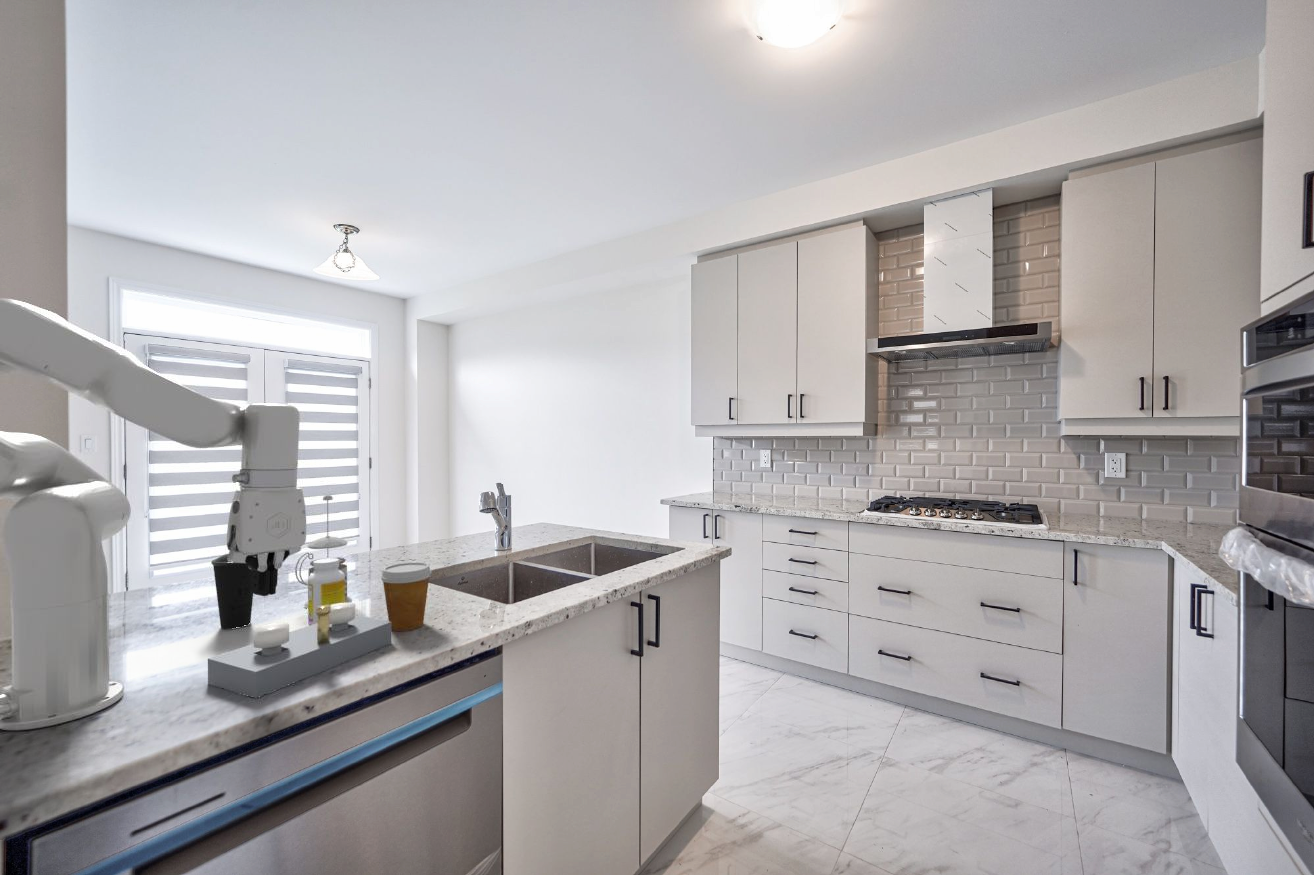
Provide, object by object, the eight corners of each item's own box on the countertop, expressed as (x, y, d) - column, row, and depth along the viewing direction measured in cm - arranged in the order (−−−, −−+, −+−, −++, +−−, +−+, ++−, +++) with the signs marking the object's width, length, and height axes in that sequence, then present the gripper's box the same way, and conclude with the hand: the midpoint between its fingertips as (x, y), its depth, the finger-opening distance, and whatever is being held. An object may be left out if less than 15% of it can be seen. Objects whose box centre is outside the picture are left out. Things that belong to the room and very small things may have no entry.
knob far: (336, 650, 99) (336, 612, 99) (318, 646, 101) (318, 608, 101) (360, 641, 103) (360, 604, 103) (342, 637, 105) (342, 601, 105)
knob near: (265, 678, 88) (265, 634, 88) (246, 672, 90) (246, 630, 90) (296, 666, 92) (295, 625, 92) (277, 661, 94) (277, 621, 94)
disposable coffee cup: (426, 615, 121) (425, 559, 121) (436, 628, 113) (436, 568, 113) (377, 623, 116) (376, 565, 116) (384, 637, 108) (384, 575, 108)
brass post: (321, 645, 93) (321, 609, 93) (312, 643, 94) (312, 607, 94) (333, 640, 95) (333, 605, 95) (325, 638, 96) (324, 604, 96)
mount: (255, 698, 83) (255, 671, 83) (207, 683, 88) (207, 658, 88) (391, 643, 105) (391, 621, 105) (347, 633, 110) (347, 613, 110)
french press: (361, 600, 131) (360, 494, 131) (309, 614, 121) (309, 499, 121) (337, 594, 136) (336, 491, 136) (285, 607, 126) (285, 496, 126)
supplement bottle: (352, 617, 120) (352, 557, 120) (331, 628, 113) (330, 564, 113) (322, 616, 120) (322, 556, 120) (300, 626, 114) (299, 563, 114)
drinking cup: (201, 630, 112) (201, 529, 112) (238, 617, 119) (238, 523, 119) (232, 633, 110) (231, 531, 110) (267, 620, 117) (267, 525, 117)
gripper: (232, 484, 82) (227, 609, 82) (328, 479, 96) (323, 587, 96) (202, 480, 85) (197, 601, 85) (299, 476, 99) (295, 581, 99)
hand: (264, 593), depth 90 cm, fingers closed
